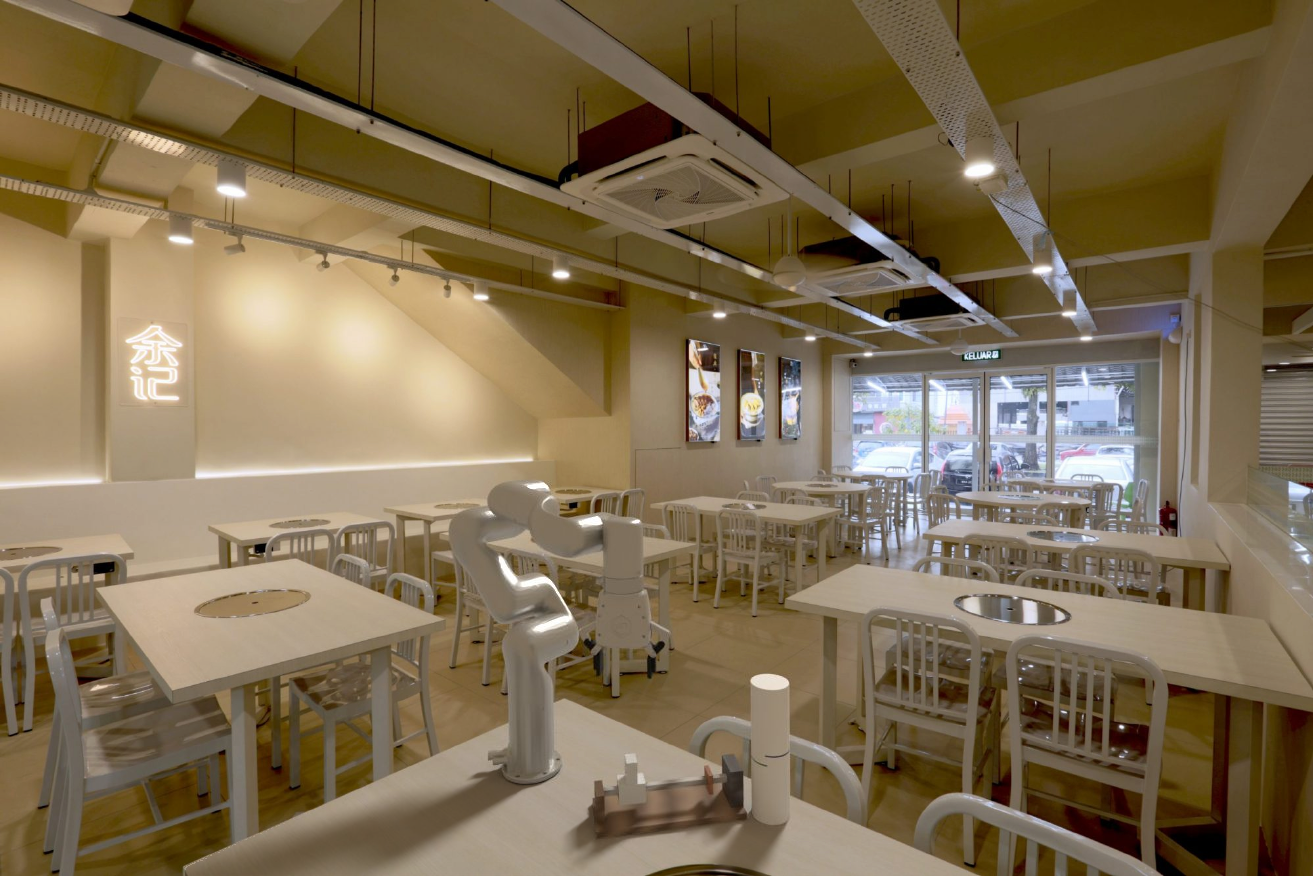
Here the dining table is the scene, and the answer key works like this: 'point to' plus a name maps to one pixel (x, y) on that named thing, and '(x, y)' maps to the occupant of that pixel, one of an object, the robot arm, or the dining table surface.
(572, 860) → the dining table surface
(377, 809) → the dining table surface
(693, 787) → the rail
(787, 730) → the cylindrical container
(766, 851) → the dining table surface
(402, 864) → the dining table surface
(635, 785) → the sleeve
